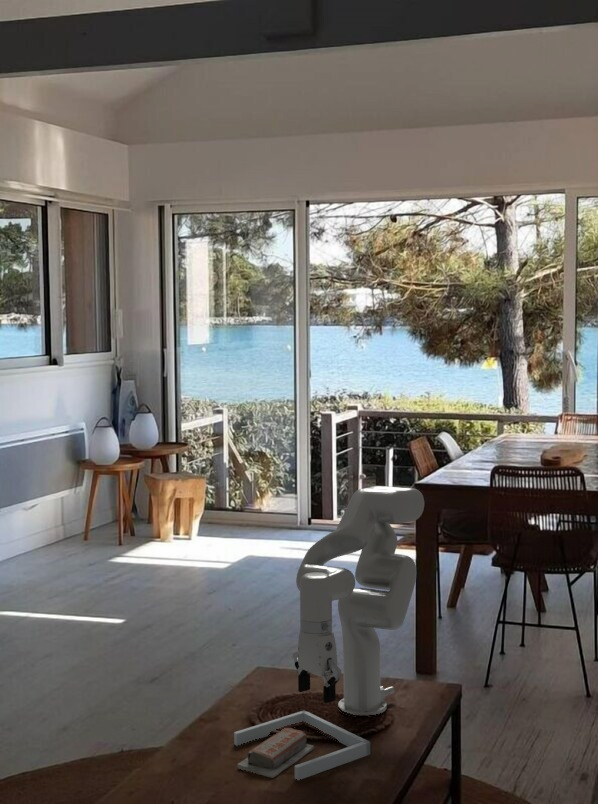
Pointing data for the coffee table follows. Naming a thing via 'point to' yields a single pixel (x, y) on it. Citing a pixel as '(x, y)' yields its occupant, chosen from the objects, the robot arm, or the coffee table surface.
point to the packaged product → (276, 753)
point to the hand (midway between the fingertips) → (316, 696)
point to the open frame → (355, 743)
